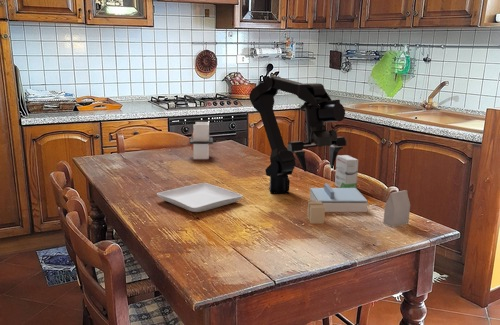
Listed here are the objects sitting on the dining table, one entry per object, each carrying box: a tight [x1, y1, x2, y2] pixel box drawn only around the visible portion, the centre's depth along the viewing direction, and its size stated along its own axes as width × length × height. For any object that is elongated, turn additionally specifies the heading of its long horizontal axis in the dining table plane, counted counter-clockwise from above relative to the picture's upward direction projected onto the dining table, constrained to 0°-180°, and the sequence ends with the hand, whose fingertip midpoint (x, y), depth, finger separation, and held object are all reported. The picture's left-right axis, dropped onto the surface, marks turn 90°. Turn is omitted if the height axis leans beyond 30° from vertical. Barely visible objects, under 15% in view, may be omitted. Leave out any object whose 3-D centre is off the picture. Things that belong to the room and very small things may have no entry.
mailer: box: [309, 189, 368, 213], centre depth 160 cm, size 16×14×3 cm
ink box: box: [334, 154, 359, 190], centre depth 178 cm, size 9×5×12 cm, turn 18°
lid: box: [309, 182, 368, 203], centre depth 159 cm, size 16×14×3 cm
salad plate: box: [156, 182, 244, 213], centre depth 160 cm, size 21×21×3 cm
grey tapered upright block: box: [382, 189, 411, 228], centre depth 143 cm, size 4×7×10 cm, turn 121°
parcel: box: [306, 200, 326, 224], centre depth 145 cm, size 4×6×5 cm
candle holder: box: [189, 121, 214, 160], centre depth 222 cm, size 25×24×16 cm
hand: (318, 169), depth 157 cm, fingers open, 9 cm apart
